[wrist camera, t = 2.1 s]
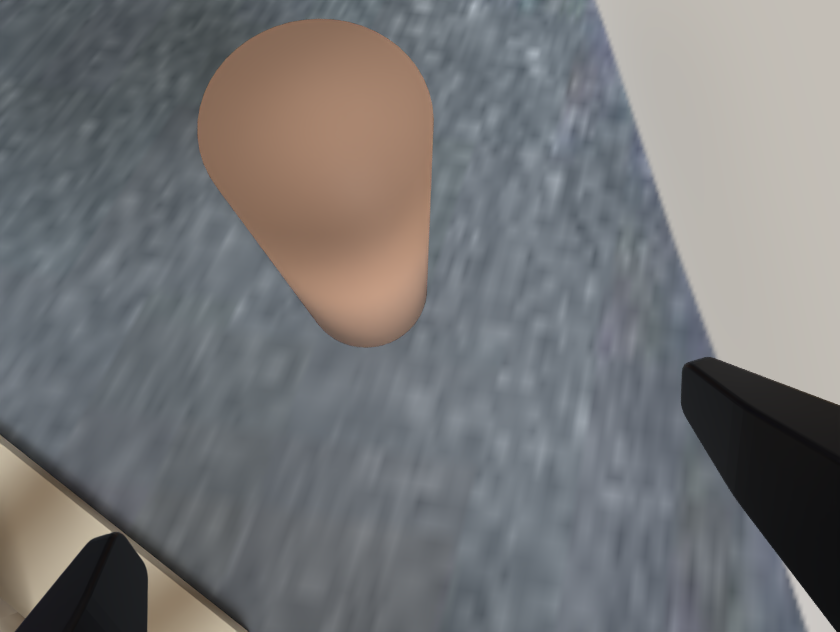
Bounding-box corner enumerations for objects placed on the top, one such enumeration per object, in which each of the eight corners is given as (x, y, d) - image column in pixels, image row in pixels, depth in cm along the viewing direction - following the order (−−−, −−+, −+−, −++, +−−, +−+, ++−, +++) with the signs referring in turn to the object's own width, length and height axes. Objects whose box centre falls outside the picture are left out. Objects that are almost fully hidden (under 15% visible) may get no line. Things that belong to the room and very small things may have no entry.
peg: (451, 298, 24) (481, 138, 12) (354, 371, 23) (287, 279, 11) (378, 209, 24) (340, -21, 13) (283, 278, 24) (151, 103, 12)
